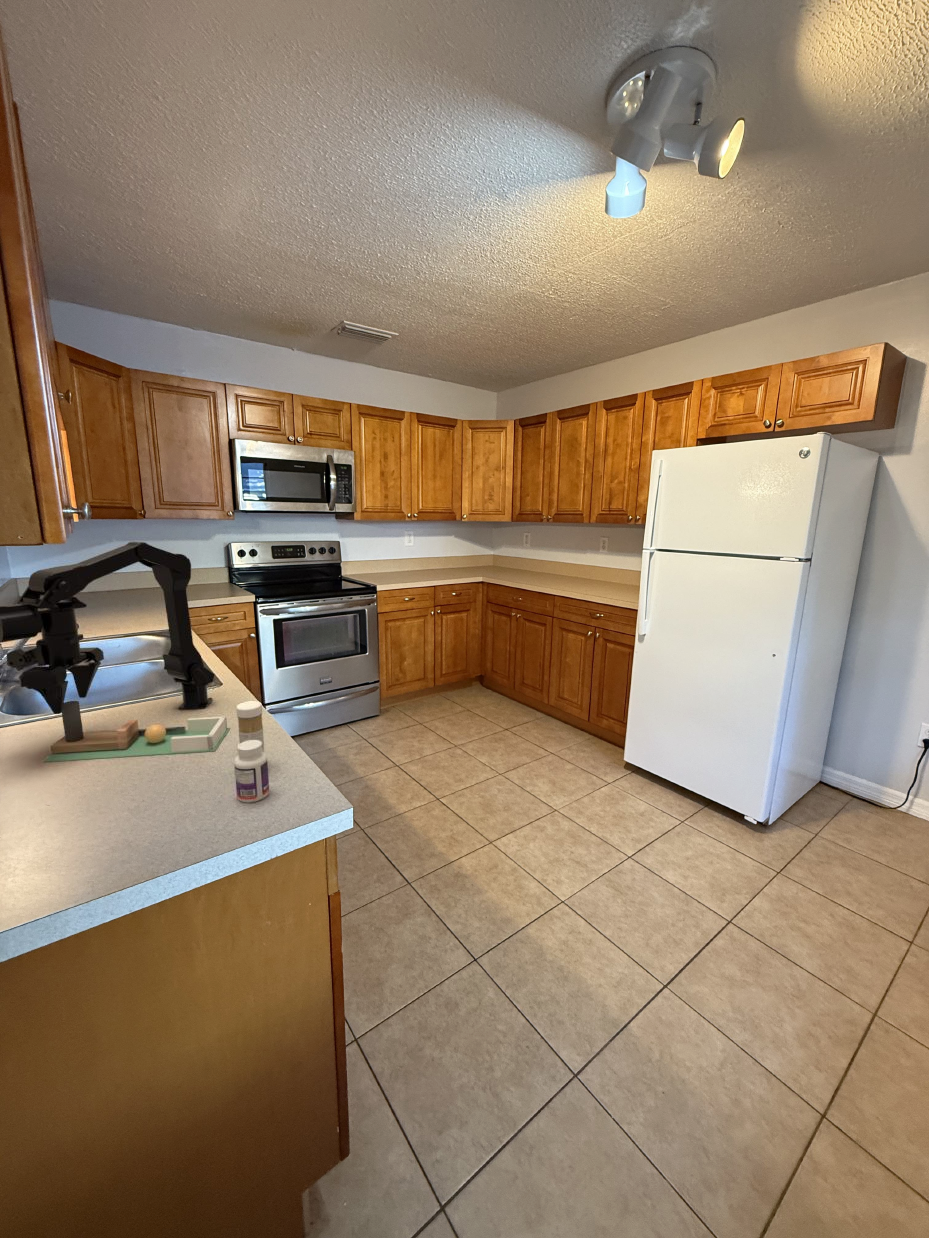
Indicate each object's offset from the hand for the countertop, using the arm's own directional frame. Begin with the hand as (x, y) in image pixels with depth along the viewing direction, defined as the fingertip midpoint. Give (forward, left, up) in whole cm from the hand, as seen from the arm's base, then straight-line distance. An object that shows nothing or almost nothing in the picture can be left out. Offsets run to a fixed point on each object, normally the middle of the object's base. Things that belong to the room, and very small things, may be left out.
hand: (70, 705), depth 104 cm
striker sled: (0, +4, -10) cm, 10 cm away
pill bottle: (+25, +40, -10) cm, 49 cm away
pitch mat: (0, +13, -10) cm, 16 cm away
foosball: (0, +15, -7) cm, 17 cm away
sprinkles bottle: (+15, +38, -10) cm, 42 cm away
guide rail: (-4, +8, -10) cm, 13 cm away
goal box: (0, +24, -10) cm, 26 cm away
